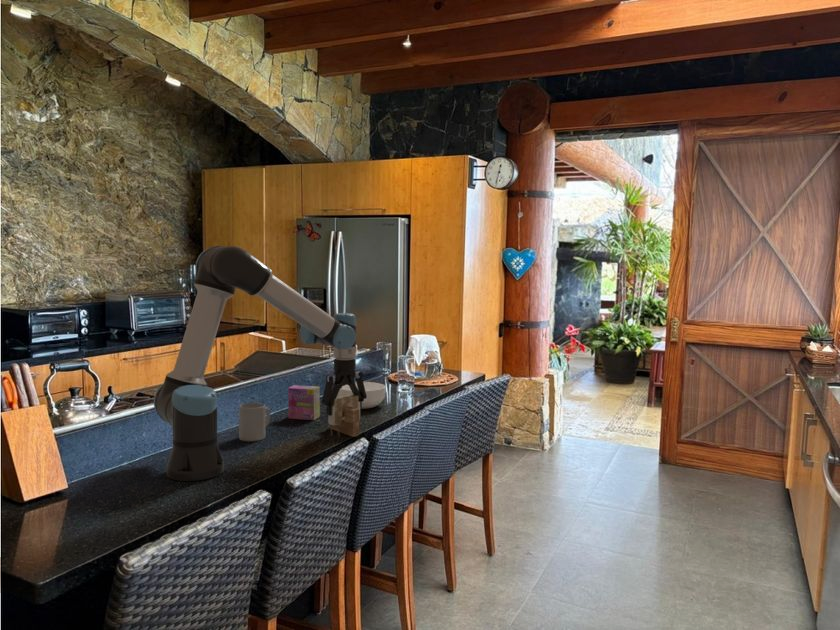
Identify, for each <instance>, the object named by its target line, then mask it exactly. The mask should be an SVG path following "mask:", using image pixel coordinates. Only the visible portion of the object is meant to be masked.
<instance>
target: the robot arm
mask: <svg viewBox="0 0 840 630" xmlns="http://www.w3.org/2000/svg"><path fill="white" fill-rule="evenodd" d="M195 271H196V277H195V281H194V284H193V286H194V287H195V289H196V292H197V293H196V296H195V299H194V303H193V306H192V309H191V313H190V315H189V319H188V322H187V325H186V329H185V332H184V335H183V339H182V341H181V345H180V348H179V351H178V355H177V358H176V361H175V365H174V367H173V370H172V371H170V372H168V373H167V374H165V378H164V381H163V384H162V385H161V386H159V388H158V389H157V390H156V392H155V395H154V397H153V406H154V410H155V412H156V414H157V415H158V416H159V418H160V419H161V420H162V421H164V422H166V423H167V424H169V425H171V427H172V448H171V451H170V453H169V454H170V455H169V457H168V461H167V464H166V467H165V470H166V471H165V472H166V473H165V474H166V477H167V478H169V479H171V480H174V481H180V482H195V481H204V480H208V479H212V478H215V477H218V476H220V475H221V474H223V472H224V471H225V461H224V458H223V455H222V453H221V450H220V447H219V443H218V404H219V403H218V402H219V401H218V397H217V392H216V391H215V390H214V388H212V387H209V386H207V385H208V383H207V382H206V380H205V377H204V376H205V373H206V371H207V370H206V369H207V366H208V363H209V360H210V356H211V353H212V349H213V347H214V343H215V340H216V337H217V333H218V331H219V327H220V322H221V321H222V317H223V313H224V311H225V308H226V304H227V301H228V300H229V299H230V298H232V297H234V295H235V293H236V289H238V290H240V291H242V292H245V293H247V295H249V296H251V297H255V296H257V297H259V299H261V300H263V301H264V302H266V303H267V304H269V305H271V306H272V307H273V308H275V309H276V310H278V311H279V312H281V313H282V314H284V315H285V316H287V317H289V318H290V319H292V320H293V321H294V322H296V323H297V324H299V325H300V328H299V329H300V330H299V332H300V333H299V334H300V338H301V341H302V342H303V343H304V344H306V345H315V344H316V345H317V344H319V345H322V346H328V347H332V348H333V358H334V359H333V370H334V371H333V374H332V375H326V376H325V380H326V381H325V385H324V390H323V394H322V398H321V401H320V404H322V405H324V406H326V415H327V417H328V418H327V419H328V420H327V421H328V424H329V426H330V425H335V406H333V403H334V401H335V399H336V397H337V395H338V392H339V390H340V389H341V388H342V386H345V385H349V387H350V389H351V391H352V393H353V395H357V396H358V409H359V421H361V411H362V402H363V401H364V399H366V398H367V396H366V392H365V387H364V383H363V382H364V379H363V376H364V375H363V372H362V371H356V367H357V364H356V363H357V361H356V356H357V352H356V351H357V350H356V349H357V319H356V315H355V314H354V313H350V312H338V313H334V315H333V316H331V315H330V314H328V312H326V311H324V310H323V309H321V308H320V307H319V306H317V305H316V304H315V303H313V302H312V301H310V300H309V299H307V298H306V297H305V296H303V295H302V294H300V292H297V290H295V289H293V288H292V287H291V286H290V285H288V284H286V283H285V282H284V281H282V280H281V279H280V278H278V277H277V276H275V275H274V274H273V271H272V269H271V268H270V267H269V266H267V264H266V265H265V263H263V262H262V261H261V260H259V259H258V258H256V257H255V256H254V255H253V254H251V253H250V252H249V251H247V250H245V249H243V248H241V247H239V246H233V245H228V246H224V245H214V246H211V247H209V248H207V249H204V250H203V251H202V252H201V253H200V254H199V255H198V257H197V259H196V261H195ZM355 382H356V383H357V387H358V389H357V387H356V383H355Z"/></svg>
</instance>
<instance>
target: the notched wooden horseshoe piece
mask: <svg viewBox="0 0 840 630" xmlns="http://www.w3.org/2000/svg"><path fill="white" fill-rule="evenodd" d="M333 406H335V425H340V424H342V411H344V408H346V407H353V408H356V409H358V396H357V395H348V396H342V397H336V399H335V401H334V403H333ZM335 425H334V426H335Z"/></svg>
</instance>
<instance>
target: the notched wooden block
mask: <svg viewBox="0 0 840 630" xmlns="http://www.w3.org/2000/svg"><path fill="white" fill-rule="evenodd" d="M329 429H331V430H334V431H336V432H338V433H342V434H345V435H347V436H350V437H358V436H360V420H359V409H356V408H353V407H346V408H344V411H342V424H340V425H335V426H334V425H330V424H329Z"/></svg>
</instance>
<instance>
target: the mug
mask: <svg viewBox="0 0 840 630" xmlns="http://www.w3.org/2000/svg"><path fill="white" fill-rule="evenodd" d="M270 420H271V412H270V409H269V407H268V406H266V404H265V403H261V402H246V403H245V402H244V403H241V404H239V406H238V438H239V440H240V441H243V442H259V441H263V440H264V439H266V427H267V426H268V425H269V424H270Z"/></svg>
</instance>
